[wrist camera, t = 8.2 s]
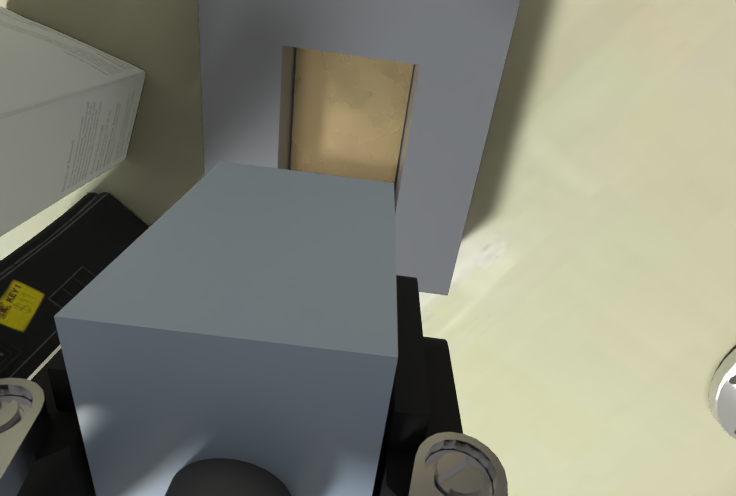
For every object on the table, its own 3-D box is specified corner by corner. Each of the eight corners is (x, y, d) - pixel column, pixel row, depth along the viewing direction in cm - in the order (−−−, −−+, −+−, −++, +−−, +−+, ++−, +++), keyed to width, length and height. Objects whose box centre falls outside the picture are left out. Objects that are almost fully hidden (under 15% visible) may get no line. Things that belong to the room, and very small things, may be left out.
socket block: (502, -14, 24) (524, -17, 20) (440, 258, 31) (447, 295, 27) (228, -54, 24) (195, -65, 20) (230, 230, 31) (207, 264, 27)
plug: (394, 183, 11) (399, 409, 5) (364, 379, 14) (343, 679, 8) (220, 161, 11) (3, 362, 5) (226, 362, 14) (94, 652, 7)
